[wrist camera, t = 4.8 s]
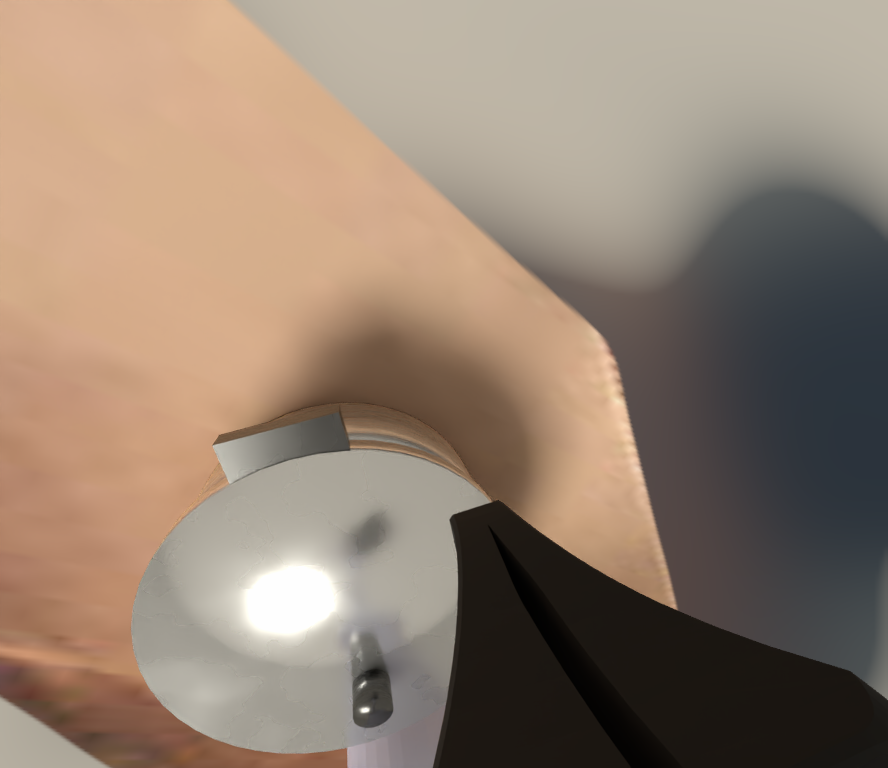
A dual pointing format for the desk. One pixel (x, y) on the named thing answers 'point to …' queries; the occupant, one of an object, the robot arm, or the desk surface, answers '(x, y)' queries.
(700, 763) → the robot arm
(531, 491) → the desk surface
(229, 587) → the lid
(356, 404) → the pot
